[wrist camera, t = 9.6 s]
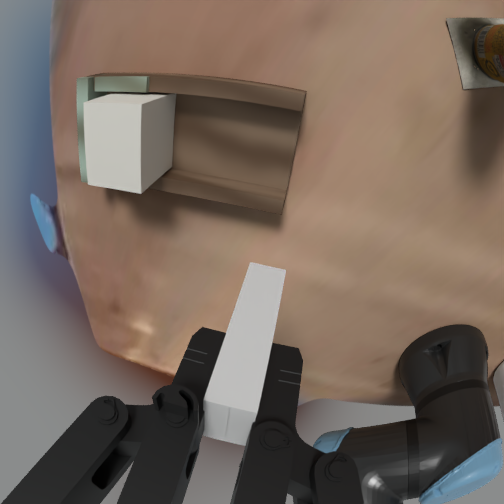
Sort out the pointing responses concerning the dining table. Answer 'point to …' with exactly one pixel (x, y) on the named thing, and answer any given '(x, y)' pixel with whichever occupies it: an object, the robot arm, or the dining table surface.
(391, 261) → the dining table surface
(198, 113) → the walnut chute
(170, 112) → the cream block
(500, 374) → the can
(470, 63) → the condiment
